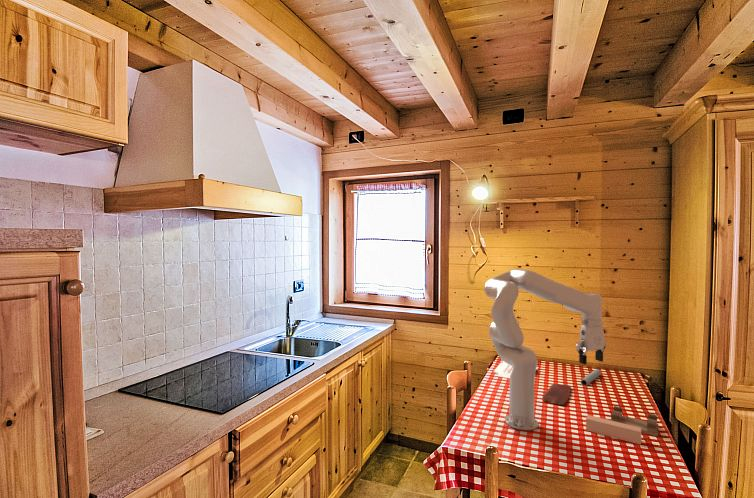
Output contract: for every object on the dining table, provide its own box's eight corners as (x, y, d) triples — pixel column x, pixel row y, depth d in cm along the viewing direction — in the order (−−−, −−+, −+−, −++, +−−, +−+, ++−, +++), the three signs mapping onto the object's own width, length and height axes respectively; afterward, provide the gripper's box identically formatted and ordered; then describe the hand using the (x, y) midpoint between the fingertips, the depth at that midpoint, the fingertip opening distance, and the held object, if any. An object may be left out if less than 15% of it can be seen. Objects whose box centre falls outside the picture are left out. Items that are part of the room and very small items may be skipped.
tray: (490, 376, 217) (490, 369, 217) (503, 362, 241) (503, 356, 241) (529, 383, 207) (529, 376, 206) (538, 368, 230) (538, 362, 230)
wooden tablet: (564, 407, 177) (564, 403, 177) (541, 401, 182) (541, 398, 182) (573, 388, 199) (573, 384, 199) (552, 383, 204) (552, 380, 204)
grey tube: (594, 374, 220) (594, 368, 220) (607, 377, 215) (607, 371, 215) (580, 385, 204) (580, 378, 204) (594, 388, 200) (594, 381, 199)
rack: (657, 436, 151) (658, 425, 150) (609, 424, 160) (609, 413, 160) (658, 426, 159) (658, 415, 158) (612, 415, 168) (612, 405, 168)
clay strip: (640, 445, 145) (640, 432, 145) (585, 431, 155) (586, 418, 155) (641, 440, 148) (641, 427, 148) (587, 427, 159) (587, 414, 158)
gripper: (584, 326, 161) (584, 367, 162) (613, 322, 168) (613, 362, 168) (569, 322, 168) (568, 362, 169) (598, 319, 175) (597, 357, 175)
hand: (591, 362), depth 169 cm, fingers open, 9 cm apart
